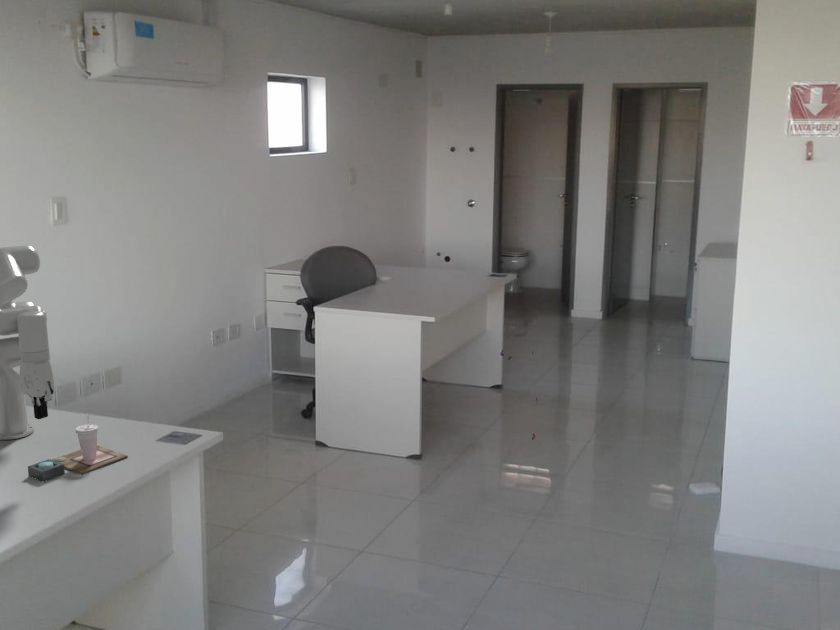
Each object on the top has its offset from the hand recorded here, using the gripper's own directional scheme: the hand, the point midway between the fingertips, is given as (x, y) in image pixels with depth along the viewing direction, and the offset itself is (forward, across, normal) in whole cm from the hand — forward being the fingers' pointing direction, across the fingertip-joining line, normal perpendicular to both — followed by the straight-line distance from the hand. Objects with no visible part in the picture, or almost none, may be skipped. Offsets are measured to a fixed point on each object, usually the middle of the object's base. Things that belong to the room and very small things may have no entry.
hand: (41, 417), depth 265 cm
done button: (+18, +1, 0) cm, 18 cm away
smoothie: (+17, +1, +14) cm, 22 cm away
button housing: (+17, +1, -1) cm, 17 cm away
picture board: (+17, +1, +14) cm, 22 cm away
